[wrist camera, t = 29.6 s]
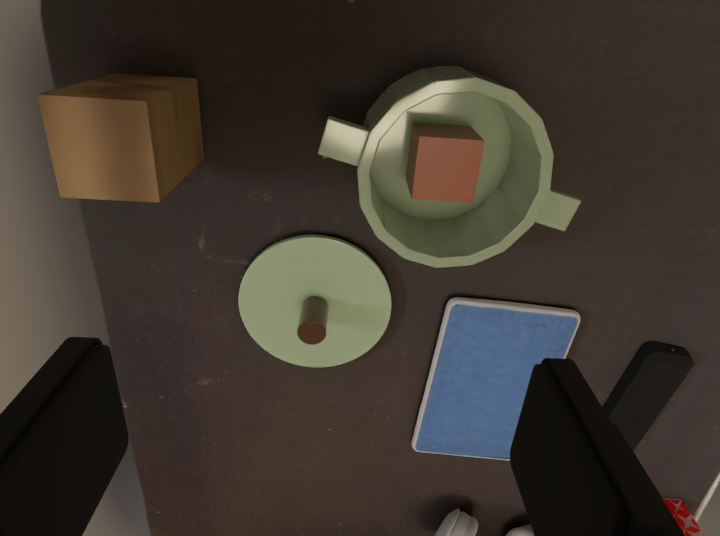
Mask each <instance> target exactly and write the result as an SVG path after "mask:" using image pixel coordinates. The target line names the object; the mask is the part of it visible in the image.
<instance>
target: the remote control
mask: <svg viewBox="0 0 720 536" xmlns="http://www.w3.org/2000/svg"><path fill="white" fill-rule="evenodd" d="M693 364H694V362H693V360H692V358H691V356H690V355H689V353H688V351H687V350H686V349H684V348H680V347H675V346H671V345H666V344H661V343H657V342H649V343H646V344H644V345H643V346H642V347H641V349H640V350H639V352H638V353H637V355H636V356H635V358H634V360H633V361H632V363H631V364H630V366H629V368H628V369H627V371H626V372H625V374H624V375H623V377H622V379H621V380H620V382H619V383H618V385H617V386H616V388H615V390H614V391H613V393H612V394H611V396H610V398H609V399H608V401H607V402H606V404H605V405H604V407H603V410H604V411H605V413H606V415H607V416H608V418H609V419H610V421H611V422H613V423H614V424H615V425H616V426H617V427H618V428H619V430H620V431H621V433H622V435H623V436H624V438H625V439H626V441H627V443H628V444H629V446H630V447H631V449H632V451H633V450H634V449H635V447H636V446H637V444H638V443H639V441H640V440H641V439H642V437H643V436H644V434H645V433H646V432H647V430H648V429H649V427H650V426H651V424H652V423H653V422H654V420H655V419H656V417H657V416H658V415H659V413H660V412H661V410H662V409H663V408H664V406H665V405H666V403H667V402H668V400H669V399H670V398H671V396H672V395H673V393H674V392H675V391H676V389H677V388H678V386H679V385H680V384H681V382H682V381H683V379H684V378H685V376H686V375H687V374H688V372H689V371H690V369H691V368H692V367H693Z"/></svg>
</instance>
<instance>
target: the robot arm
mask: <svg viewBox="0 0 720 536" xmlns="http://www.w3.org/2000/svg"><path fill="white" fill-rule="evenodd" d="M127 446H128V431H127V426H126V421H125V417H124V412H123V407H122V403H121V398H120V394H119V389H118V384H117V380H116V375H115V370H114V366H113V361H112V356H111V352H110V348H109V347H108V346H107V345H103V344H102V342H101V341H100V339H98V338H85V337H70V338H68V339H66V340H65V341H64V342H63V344H62V345H61V346H60V347H59V348H58V349H57V350H56V352H55V353H54V354H53V355H52V356H51V357H50V358H49V360H48V361H47V362H46V363H45V364H44V365H43V366H42V367H41V369H40V370H39V371H38V372H37V373H36V374H35V375H34V377H33V378H32V379H31V380H30V381H29V382H28V383H27V385H26V386H25V387H24V388H23V389H22V390H21V391H20V393H19V394H18V395H17V396H16V397H15V398H14V399H13V401H12V402H11V403H10V404H9V405H8V406H7V407H6V409H5V410H4V411H3V412H2V413H1V414H0V536H82V535H83V533H84V531H85V529H86V527H87V525H88V523H89V521H90V519H91V517H92V515H93V514H94V512H95V510H96V508H97V506H98V504H99V502H100V500H101V498H102V496H103V494H104V492H105V490H106V489H107V487H108V485H109V483H110V481H111V478H112V477H113V475H114V473H115V471H116V469H117V467H118V465H119V463H120V462H121V460H122V458H123V456H124V454H125V451H126V449H127ZM510 463H511V467H512V470H513V473H514V476H515V479H516V482H517V485H518V488H519V491H520V494H521V497H522V500H523V503H524V506H525V509H526V512H527V515H528V518H529V521H530V524H531V527H532V530H533V533H534V536H685V534H684V533H683V531H682V529H681V528H680V526H679V525H678V523H677V521H676V520H675V518H674V517H673V515H672V513H671V512H670V510H669V509H668V507H667V505H666V504H665V502H664V500H663V499H662V497H661V496H660V494H659V492H658V491H657V489H656V488H655V486H654V484H653V483H652V481H651V480H650V478H649V476H648V475H647V473H646V472H645V470H644V468H643V467H642V465H641V464H640V462H639V460H638V459H637V457H636V455H635V454H634V452H633V451H632V449H631V447H630V446H629V444H628V443H627V441H626V439H625V438H624V436H623V435H622V433H621V431H620V430H619V428H618V427H617V426H616V425H615V424H614V423H613V422H611V421H610V419H609V418H608V416H607V415H606V413H605V411H604V410H603V408H602V406H601V405H600V403H599V402H598V400H597V398H596V397H595V395H594V393H593V392H592V390H591V389H590V387H589V385H588V384H587V382H586V380H585V379H584V377H583V375H582V374H581V372H580V371H579V369H578V367H577V366H576V364H575V363H574V361H573V360H571V359H559V358H544V359H543V360H542V362H541V364H535V365H534V367H533V370H532V373H531V377H530V380H529V384H528V388H527V391H526V395H525V398H524V402H523V406H522V409H521V413H520V416H519V420H518V424H517V427H516V431H515V434H514V438H513V442H512V445H511V449H510Z"/></svg>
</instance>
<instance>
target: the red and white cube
mask: <svg viewBox="0 0 720 536" xmlns="http://www.w3.org/2000/svg"><path fill="white" fill-rule="evenodd" d="M662 499H663V500H664V502H665V504H666V505H667V507H668V509H669V510H670V512H671V513H672V515H673V517H674V518H675V520H676V521H677V523H678V525H679V526H680V528H681V529H682V531H683V533H684V534H685V536H705V534H704V533H703V531H702V530H701V528H700V527H699V525H698V523H697V522H696V520H695V519H694V517H693V516H692V514H691V513H690V511H689V510H688V508H687V507H686V505H685V504H684V502H683V501H682V499H669V498H662Z"/></svg>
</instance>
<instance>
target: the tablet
mask: <svg viewBox="0 0 720 536" xmlns="http://www.w3.org/2000/svg"><path fill="white" fill-rule="evenodd" d="M580 320H581V319H580V315H579V313H578V312H576V311H575V310H571V309H564V308H556V307H549V306H541V305H534V304H525V303H516V302H507V301H498V300H488V299H477V298H464V297H454V298H452V299H450V300H449V301H448V303H447V305H446V308H445V312H444V316H443V320H442V324H441V328H440V332H439V336H438V340H437V344H436V348H435V352H434V356H433V360H432V364H431V368H430V372H429V376H428V380H427V384H426V388H425V392H424V396H423V400H422V404H421V406H420V410H419V414H418V418H417V423H416V426H415V429H414V435H413V438H412V442H411V445H412V447H413V449H414V450H415V451H417V452H425V453H436V454H446V455H457V456H467V457H478V458H488V459H499V460H510V449H511V445H512V442H513V438H514V434H515V431H516V427H517V424H518V420H519V416H520V413H521V409H522V406H523V402H524V398H525V395H526V391H527V388H528V384H529V380H530V377H531V373H532V370H533V367H534V365H535V364H541V362H542V360H543V359H544V358H559V359H565V358H566V356H567V353H568V351H569V348H570V346H571V344H572V341H573V338H574V336H575V334H576V331H577V329H578V326H579V324H580Z"/></svg>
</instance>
